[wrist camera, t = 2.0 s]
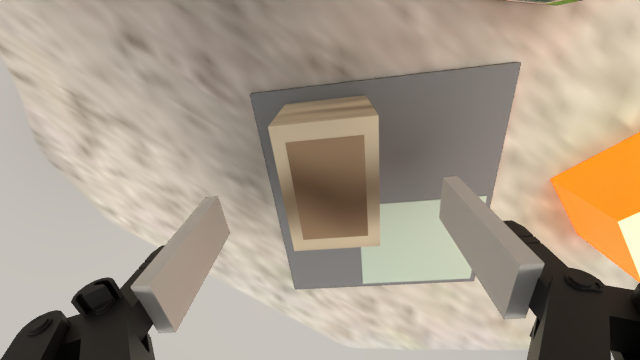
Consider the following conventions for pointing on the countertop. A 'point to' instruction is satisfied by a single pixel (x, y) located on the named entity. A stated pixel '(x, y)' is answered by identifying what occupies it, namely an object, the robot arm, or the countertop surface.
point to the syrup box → (547, 1)
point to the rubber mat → (407, 170)
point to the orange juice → (607, 202)
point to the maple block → (329, 172)
